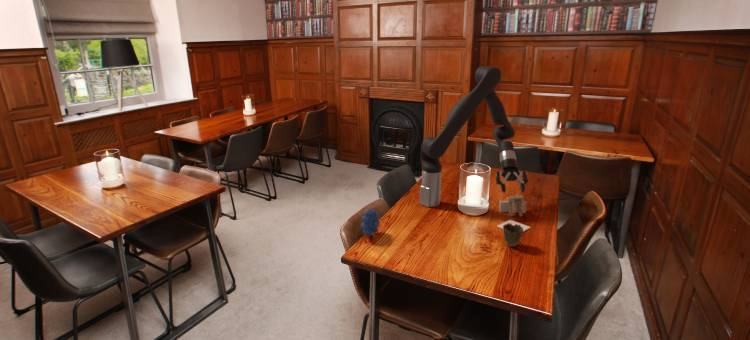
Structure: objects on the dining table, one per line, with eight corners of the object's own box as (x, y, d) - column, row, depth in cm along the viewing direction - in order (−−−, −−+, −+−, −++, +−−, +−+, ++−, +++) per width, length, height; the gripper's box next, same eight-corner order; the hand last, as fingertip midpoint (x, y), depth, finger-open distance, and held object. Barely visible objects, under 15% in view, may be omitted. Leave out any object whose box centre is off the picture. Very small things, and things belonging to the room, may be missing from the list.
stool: (524, 220, 180) (527, 200, 177) (512, 220, 180) (514, 200, 177) (518, 211, 189) (520, 192, 186) (506, 211, 189) (508, 192, 186)
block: (525, 212, 188) (526, 202, 187) (499, 212, 188) (500, 202, 187) (524, 210, 190) (525, 201, 188) (499, 210, 190) (499, 201, 188)
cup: (522, 243, 159) (524, 224, 157) (520, 251, 153) (522, 232, 151) (502, 239, 162) (504, 221, 160) (500, 247, 156) (501, 229, 154)
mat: (517, 234, 166) (517, 233, 166) (496, 226, 174) (496, 225, 174) (530, 227, 172) (530, 227, 172) (510, 220, 180) (510, 219, 180)
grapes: (371, 244, 159) (370, 216, 156) (357, 239, 163) (356, 212, 159) (386, 233, 168) (387, 206, 165) (373, 229, 172) (373, 203, 168)
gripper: (495, 157, 191) (500, 188, 184) (525, 157, 191) (531, 188, 184) (491, 165, 198) (496, 195, 190) (520, 165, 198) (526, 195, 190)
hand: (513, 192), depth 187 cm, fingers open, 8 cm apart
